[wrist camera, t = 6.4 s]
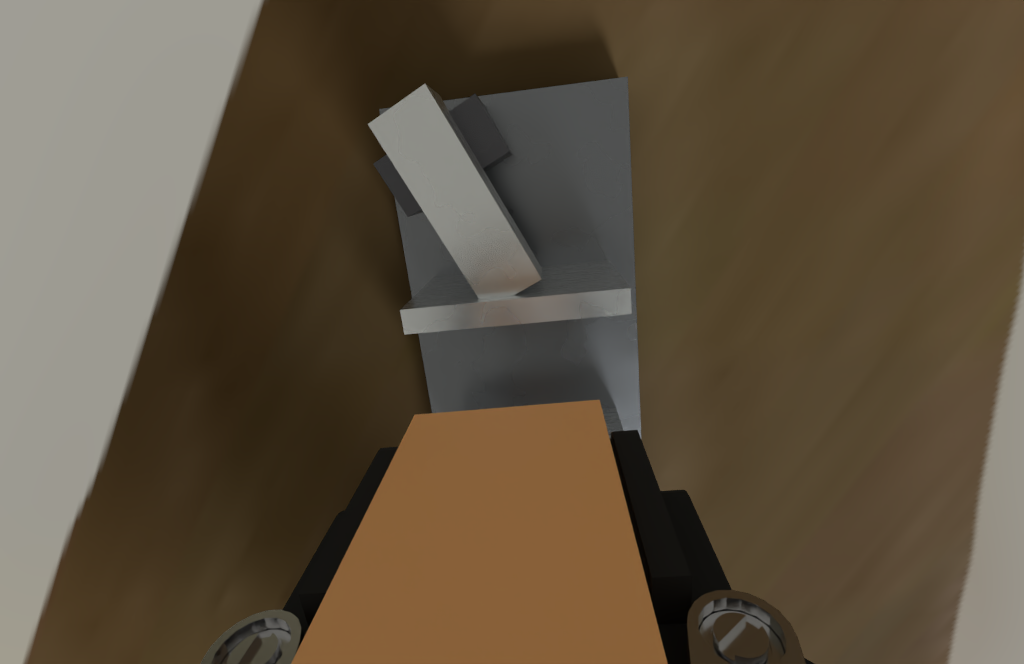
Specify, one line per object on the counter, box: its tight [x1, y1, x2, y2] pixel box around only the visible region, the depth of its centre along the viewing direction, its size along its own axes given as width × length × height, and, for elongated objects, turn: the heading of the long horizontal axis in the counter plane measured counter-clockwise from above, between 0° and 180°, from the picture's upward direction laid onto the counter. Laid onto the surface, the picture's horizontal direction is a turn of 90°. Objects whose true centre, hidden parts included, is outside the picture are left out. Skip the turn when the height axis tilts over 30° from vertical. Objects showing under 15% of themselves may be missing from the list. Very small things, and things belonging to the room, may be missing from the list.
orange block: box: [291, 400, 668, 664], centre depth 8 cm, size 4×4×7 cm
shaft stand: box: [368, 77, 641, 438], centre depth 19 cm, size 20×9×6 cm, turn 6°
